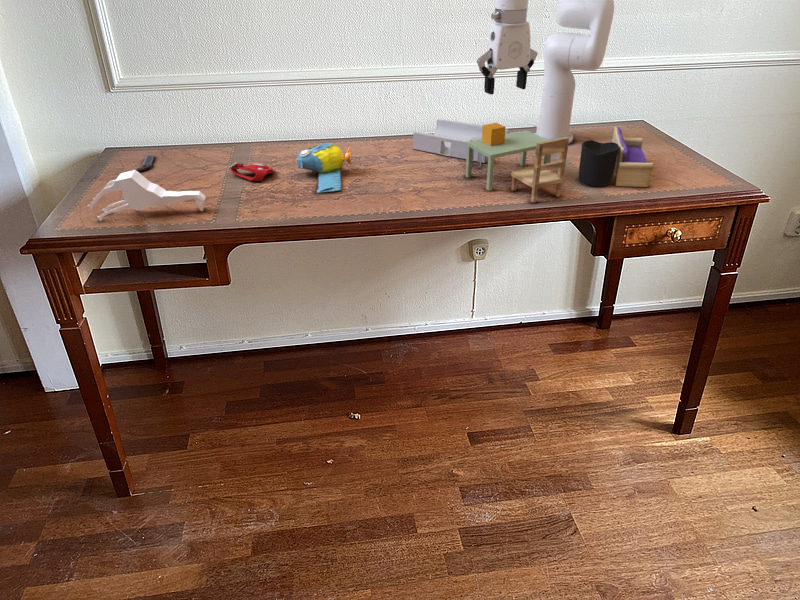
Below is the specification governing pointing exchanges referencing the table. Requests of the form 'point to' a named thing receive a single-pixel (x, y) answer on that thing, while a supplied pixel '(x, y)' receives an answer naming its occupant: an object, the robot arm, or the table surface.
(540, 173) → the chair
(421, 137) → the grey storage tray
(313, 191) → the table surface
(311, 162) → the blue yellow toy fish
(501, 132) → the block
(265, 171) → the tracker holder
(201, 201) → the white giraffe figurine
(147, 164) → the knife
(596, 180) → the pen holder
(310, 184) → the table surface
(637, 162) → the toy sofa
